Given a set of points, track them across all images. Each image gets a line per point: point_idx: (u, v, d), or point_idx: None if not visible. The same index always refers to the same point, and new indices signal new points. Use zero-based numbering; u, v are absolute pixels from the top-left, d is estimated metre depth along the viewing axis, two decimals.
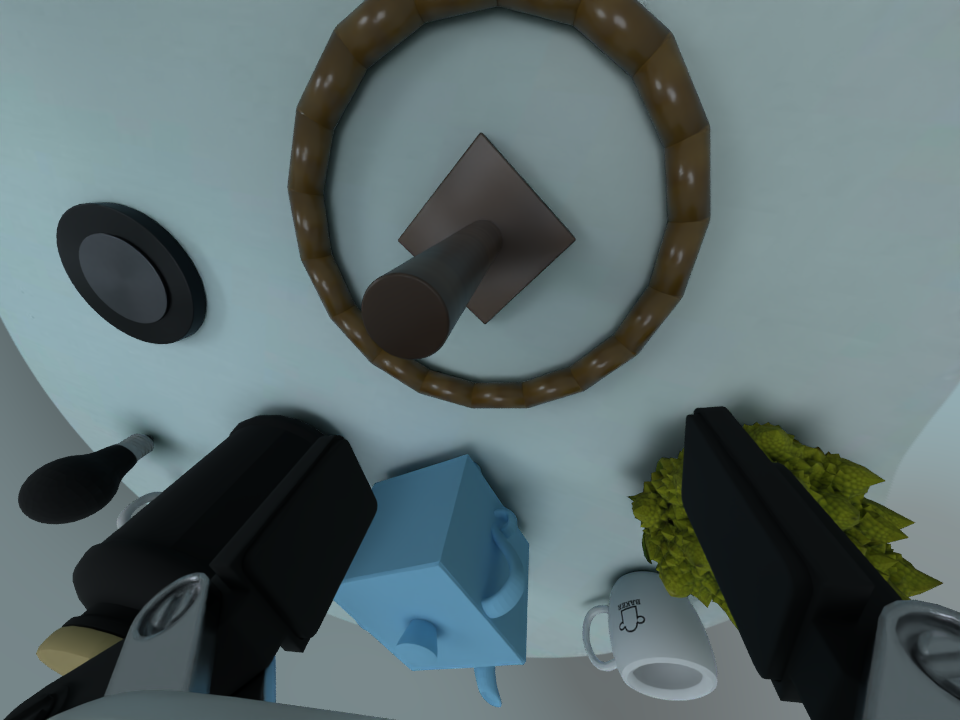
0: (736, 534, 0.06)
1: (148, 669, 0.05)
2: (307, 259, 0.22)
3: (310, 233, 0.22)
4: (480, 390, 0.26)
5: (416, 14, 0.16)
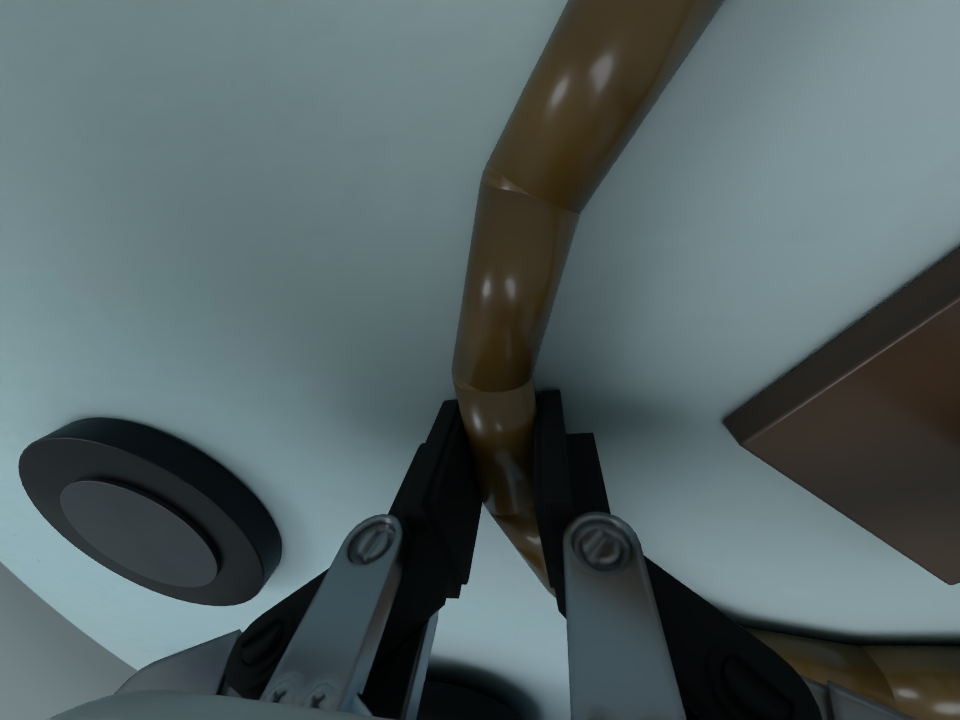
0: None
1: (340, 602, 0.05)
2: (508, 514, 0.09)
3: (518, 467, 0.09)
4: (915, 692, 0.11)
5: None
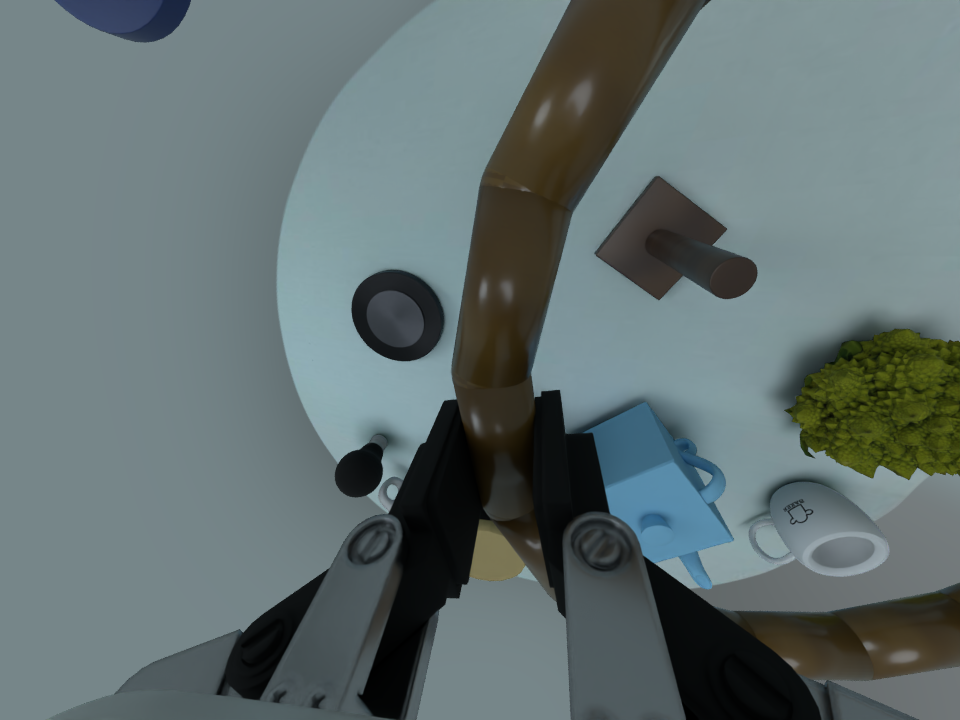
0: None
1: (340, 602, 0.05)
2: (513, 517, 0.09)
3: (523, 465, 0.09)
4: (883, 645, 0.12)
5: None
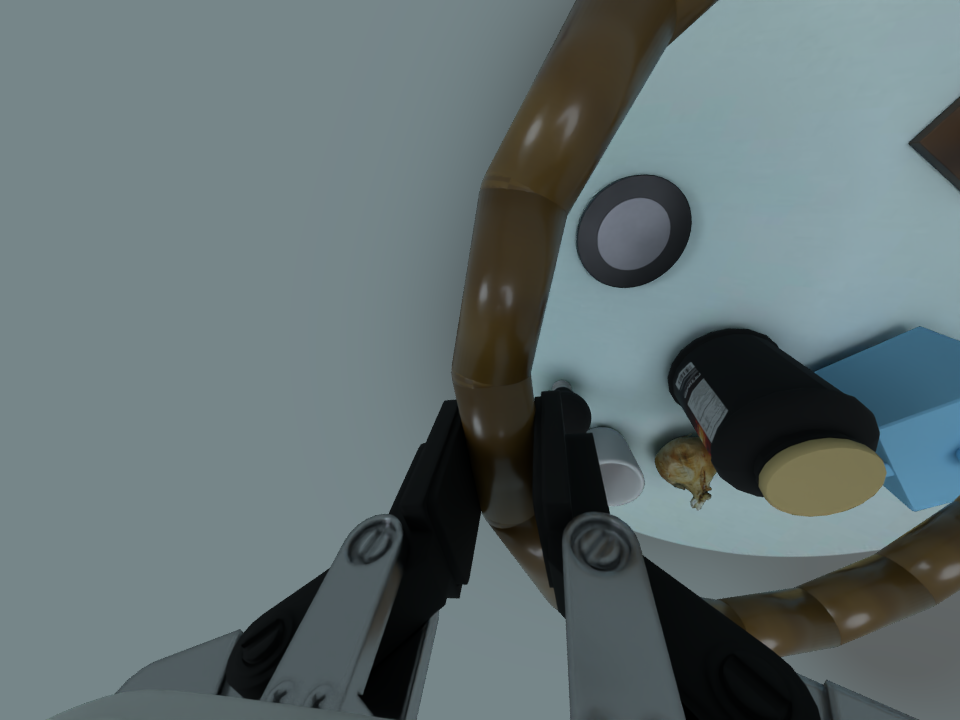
0: None
1: (340, 602, 0.05)
2: (519, 522, 0.09)
3: (528, 465, 0.09)
4: (844, 610, 0.13)
5: None
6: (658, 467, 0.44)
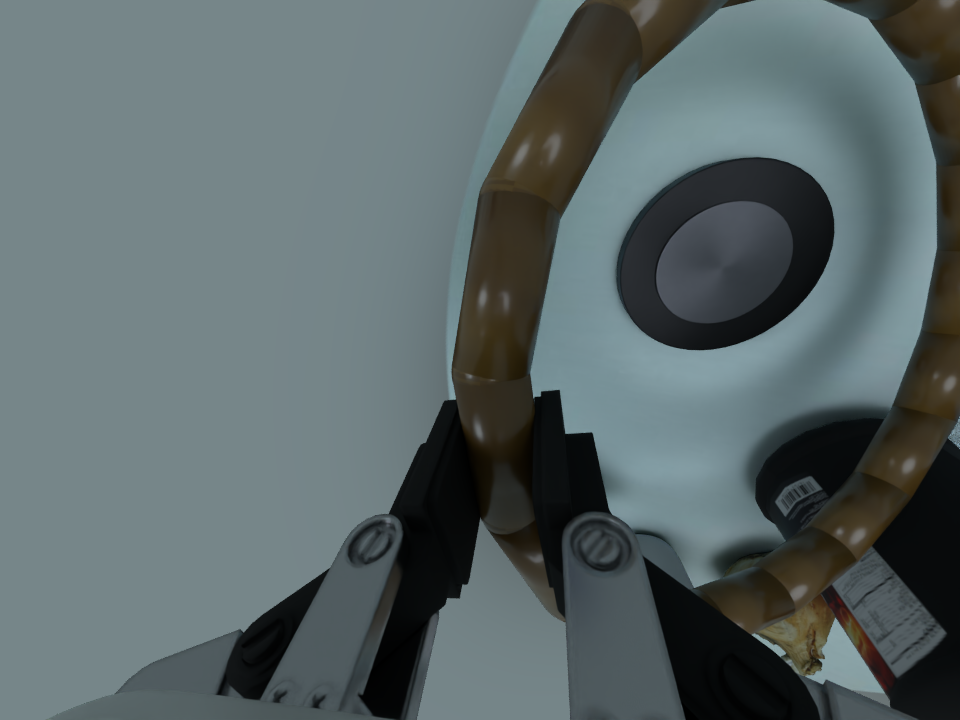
0: None
1: (340, 602, 0.05)
2: (525, 525, 0.09)
3: (532, 463, 0.09)
4: (793, 579, 0.15)
5: None
6: None
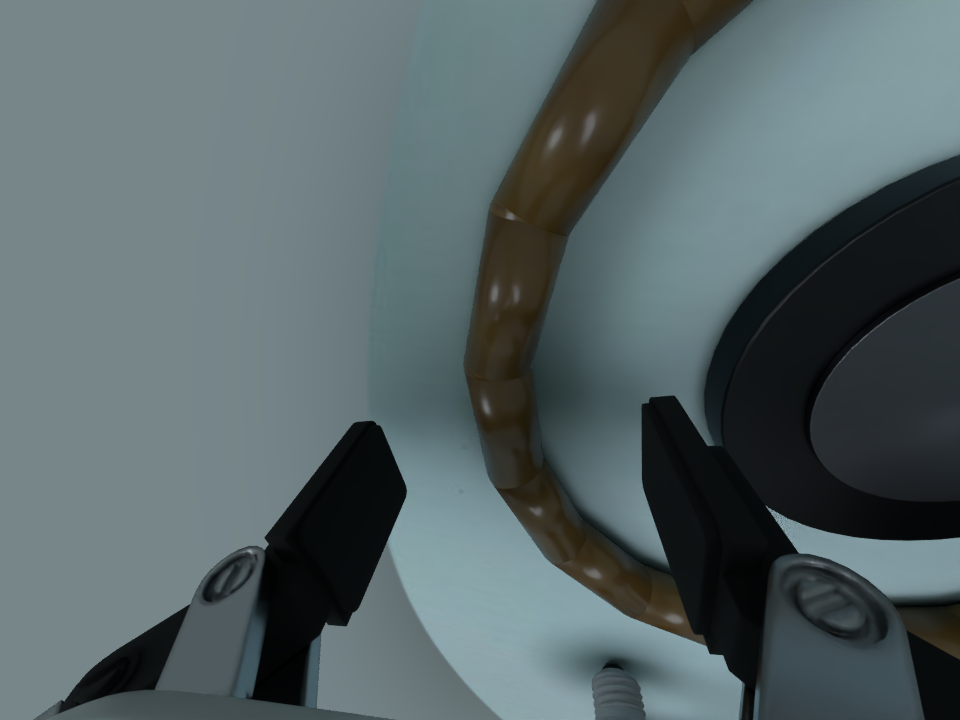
0: (674, 508, 0.07)
1: (207, 637, 0.05)
2: (511, 487, 0.11)
3: (520, 445, 0.10)
4: None
5: None
6: None
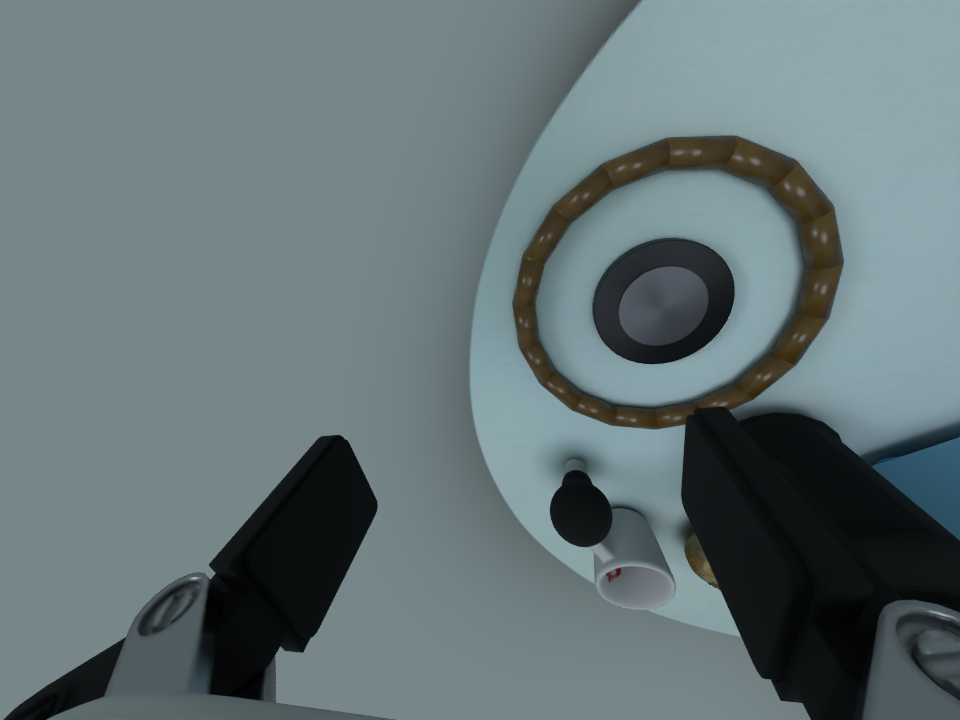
0: (736, 534, 0.06)
1: (148, 669, 0.05)
2: (528, 348, 0.32)
3: (531, 330, 0.31)
4: (663, 414, 0.33)
5: (611, 189, 0.25)
6: (690, 561, 0.38)
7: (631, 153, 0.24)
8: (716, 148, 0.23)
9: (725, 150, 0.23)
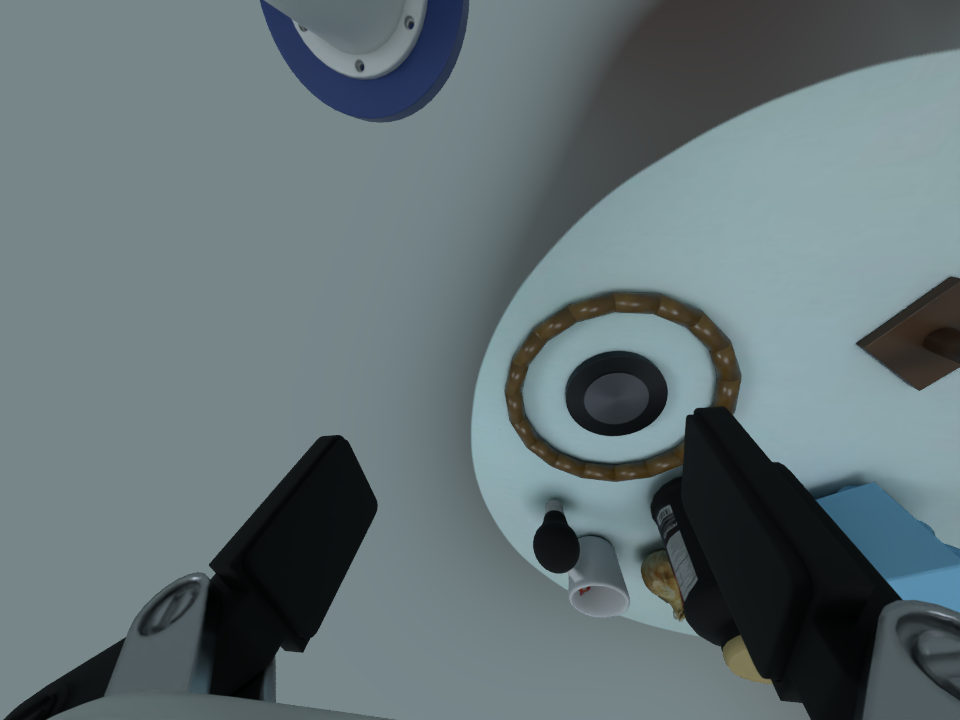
0: (736, 534, 0.06)
1: (148, 669, 0.05)
2: (516, 423, 0.41)
3: (518, 411, 0.41)
4: (620, 471, 0.43)
5: (575, 322, 0.35)
6: (644, 579, 0.48)
7: (589, 301, 0.34)
8: (647, 304, 0.32)
9: (653, 306, 0.32)
